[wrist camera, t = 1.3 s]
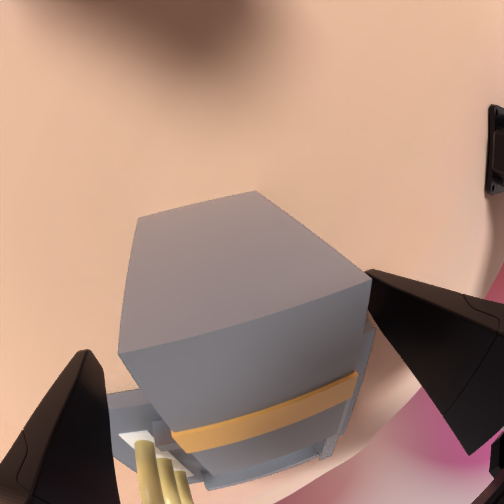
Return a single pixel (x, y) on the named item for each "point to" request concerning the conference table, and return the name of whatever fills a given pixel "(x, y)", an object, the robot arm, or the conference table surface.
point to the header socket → (186, 465)
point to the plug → (241, 329)
